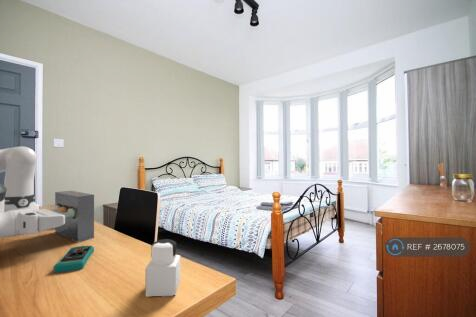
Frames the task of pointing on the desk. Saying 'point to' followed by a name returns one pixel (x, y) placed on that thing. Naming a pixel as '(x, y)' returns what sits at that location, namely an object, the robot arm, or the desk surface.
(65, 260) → the digital multimeter
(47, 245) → the desk surface
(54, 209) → the cream button
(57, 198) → the control box
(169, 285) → the medicine bottle
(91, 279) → the desk surface
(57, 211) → the orange button
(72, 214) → the sage button
